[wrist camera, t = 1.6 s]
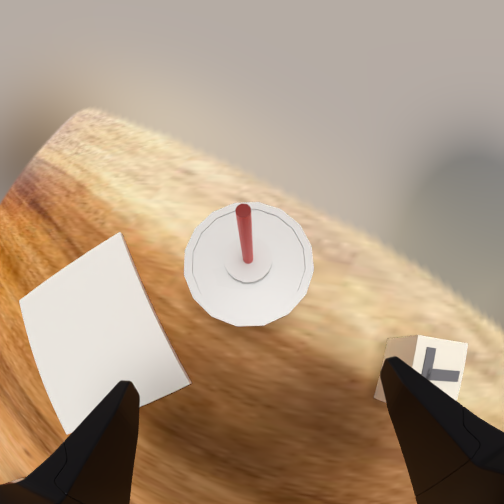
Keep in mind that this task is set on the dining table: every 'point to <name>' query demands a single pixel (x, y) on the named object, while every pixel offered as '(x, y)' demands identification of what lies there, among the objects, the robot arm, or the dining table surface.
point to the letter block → (429, 361)
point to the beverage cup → (248, 264)
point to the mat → (98, 334)
